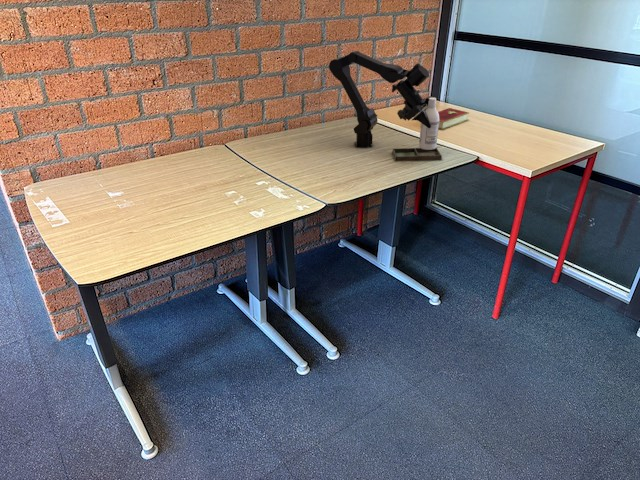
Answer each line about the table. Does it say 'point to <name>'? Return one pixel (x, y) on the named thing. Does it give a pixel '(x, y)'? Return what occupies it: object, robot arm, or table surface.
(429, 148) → the bath foam
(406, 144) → the table surface
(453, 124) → the hardcover book
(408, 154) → the tray
